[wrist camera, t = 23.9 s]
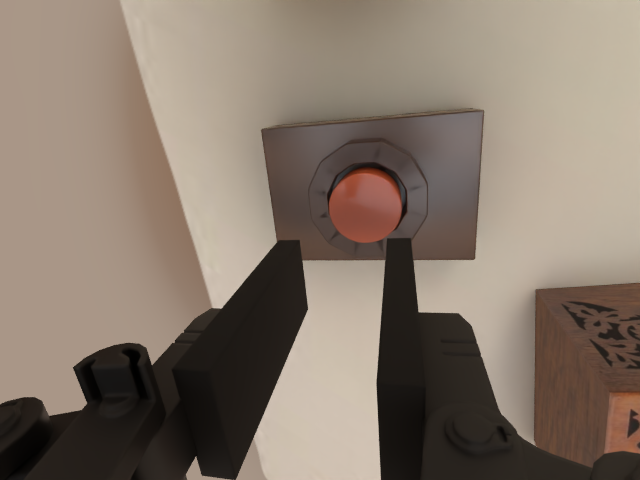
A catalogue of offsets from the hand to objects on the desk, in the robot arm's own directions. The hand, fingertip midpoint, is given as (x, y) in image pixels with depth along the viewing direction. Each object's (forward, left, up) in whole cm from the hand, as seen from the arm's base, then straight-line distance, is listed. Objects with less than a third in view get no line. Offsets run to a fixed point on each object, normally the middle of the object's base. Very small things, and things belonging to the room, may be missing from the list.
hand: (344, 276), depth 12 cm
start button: (0, 0, -10) cm, 10 cm away
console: (0, 0, -15) cm, 15 cm away
